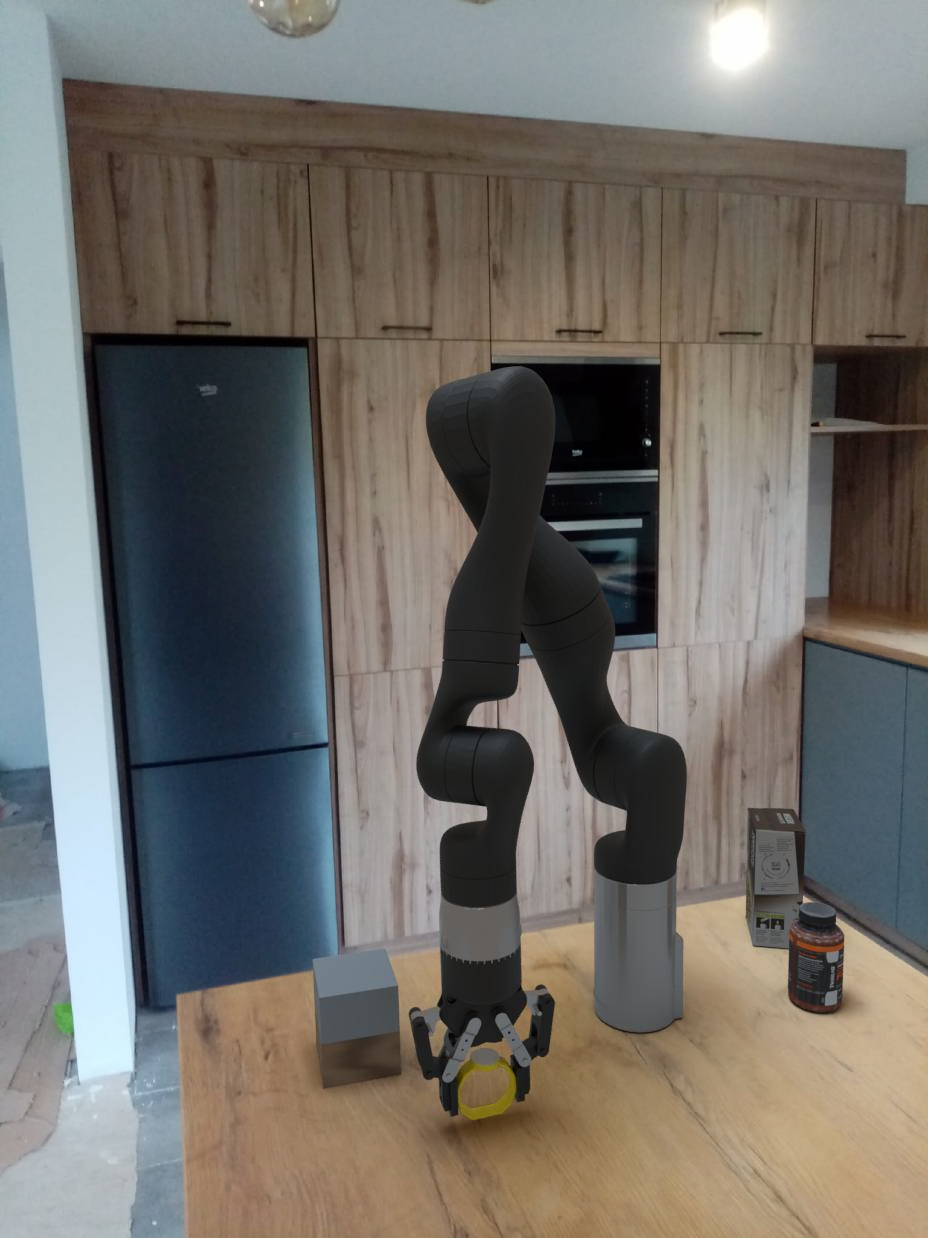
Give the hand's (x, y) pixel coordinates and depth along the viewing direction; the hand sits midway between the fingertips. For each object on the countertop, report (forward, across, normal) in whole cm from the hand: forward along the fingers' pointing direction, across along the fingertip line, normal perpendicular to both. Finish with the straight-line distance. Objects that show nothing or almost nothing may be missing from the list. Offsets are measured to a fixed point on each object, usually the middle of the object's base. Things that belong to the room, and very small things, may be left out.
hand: (485, 1103), depth 84 cm
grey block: (-3, +10, -13) cm, 17 cm away
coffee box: (+3, -48, -25) cm, 54 cm away
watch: (+1, 0, 0) cm, 1 cm away
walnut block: (+2, +10, -13) cm, 17 cm away
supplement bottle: (+3, -43, -9) cm, 44 cm away
